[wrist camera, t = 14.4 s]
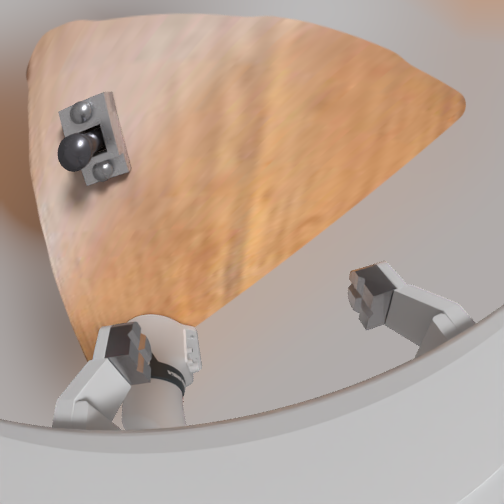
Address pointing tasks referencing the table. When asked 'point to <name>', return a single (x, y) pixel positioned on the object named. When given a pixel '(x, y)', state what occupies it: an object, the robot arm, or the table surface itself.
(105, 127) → the slotted ball-knob block
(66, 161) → the pin
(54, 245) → the table surface
